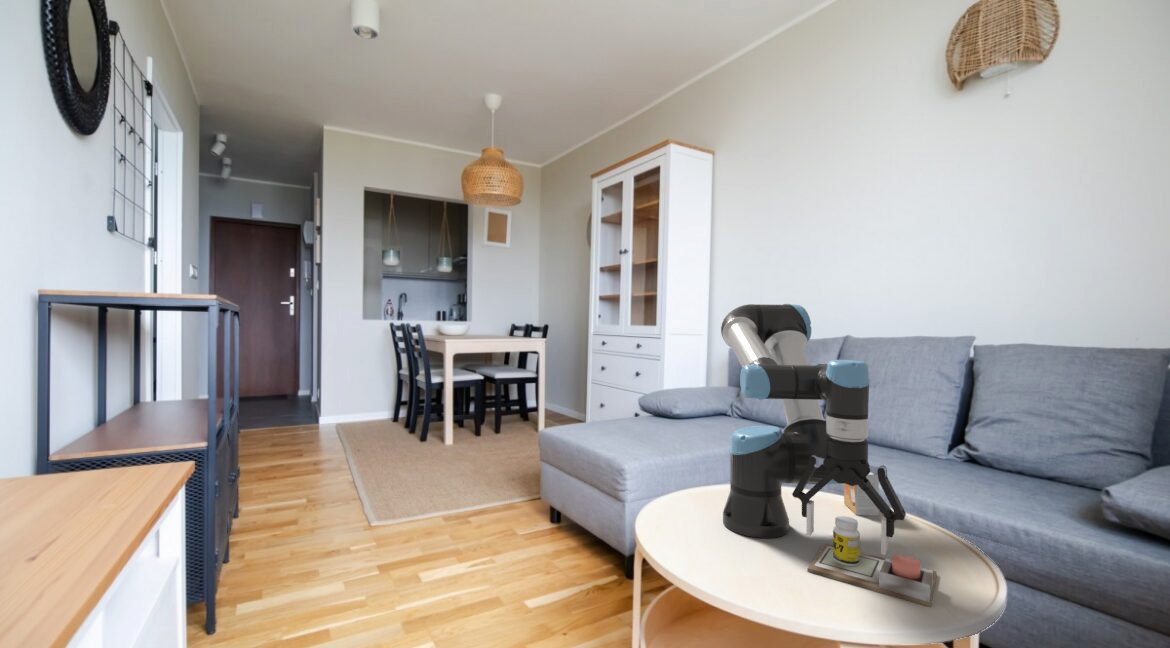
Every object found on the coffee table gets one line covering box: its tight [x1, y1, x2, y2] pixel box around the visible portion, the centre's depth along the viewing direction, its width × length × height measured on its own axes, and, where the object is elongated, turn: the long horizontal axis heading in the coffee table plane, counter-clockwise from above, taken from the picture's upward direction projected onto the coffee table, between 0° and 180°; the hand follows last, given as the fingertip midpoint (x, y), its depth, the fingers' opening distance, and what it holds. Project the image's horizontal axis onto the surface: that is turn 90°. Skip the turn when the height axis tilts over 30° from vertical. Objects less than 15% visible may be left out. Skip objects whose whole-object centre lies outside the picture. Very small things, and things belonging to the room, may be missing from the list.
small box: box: [843, 473, 880, 517], centre depth 132 cm, size 8×6×10 cm
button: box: [891, 553, 922, 582], centre depth 92 cm, size 4×4×3 cm
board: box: [806, 543, 938, 608], centre depth 99 cm, size 20×14×3 cm
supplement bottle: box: [832, 515, 861, 566], centre depth 102 cm, size 5×5×8 cm
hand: (845, 542), depth 102 cm, fingers open, 13 cm apart
